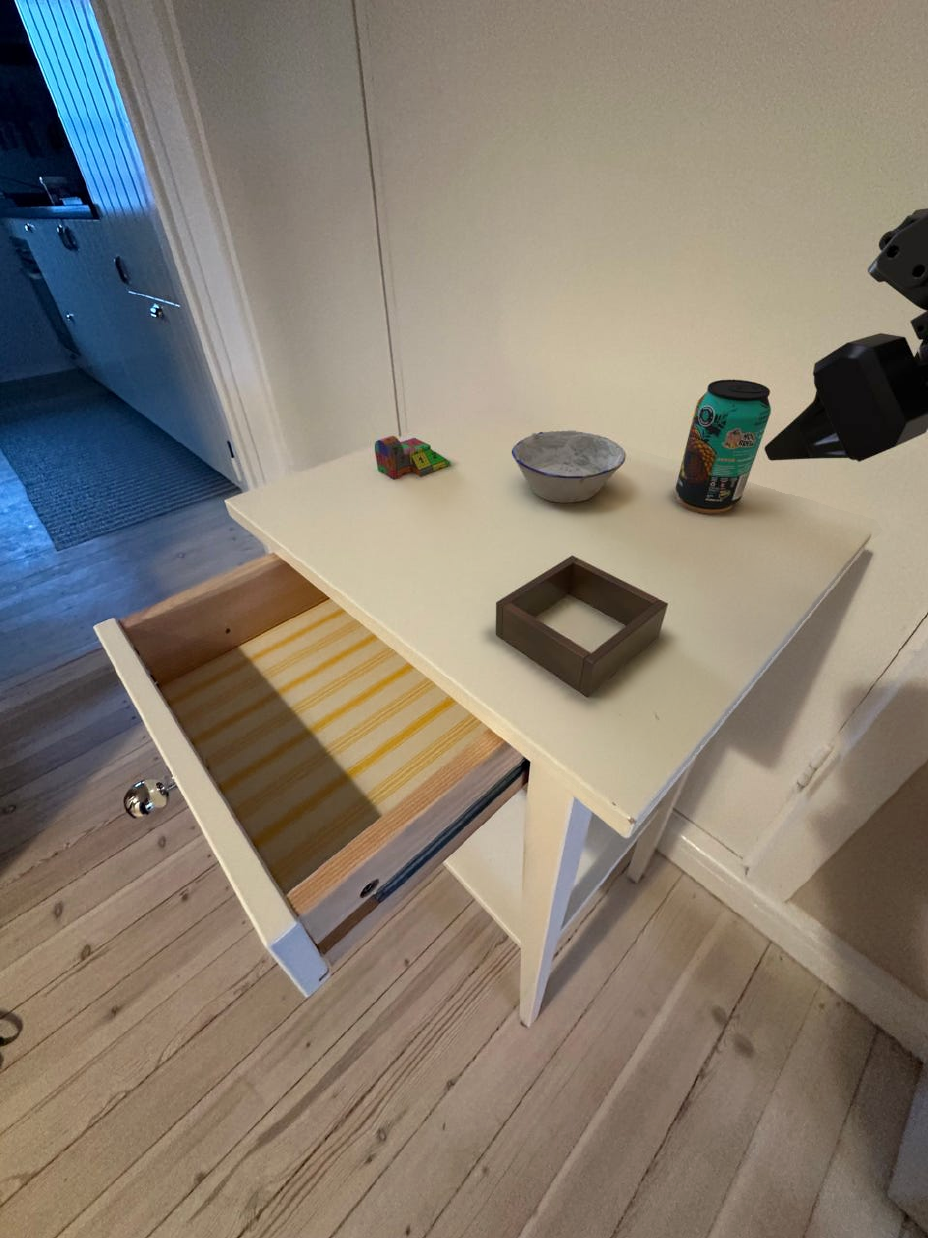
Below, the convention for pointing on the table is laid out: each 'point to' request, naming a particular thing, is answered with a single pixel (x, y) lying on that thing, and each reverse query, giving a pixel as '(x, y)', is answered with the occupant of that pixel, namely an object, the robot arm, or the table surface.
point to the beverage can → (723, 443)
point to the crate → (558, 650)
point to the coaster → (700, 508)
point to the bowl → (567, 464)
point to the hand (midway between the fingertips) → (804, 438)
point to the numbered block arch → (407, 457)
